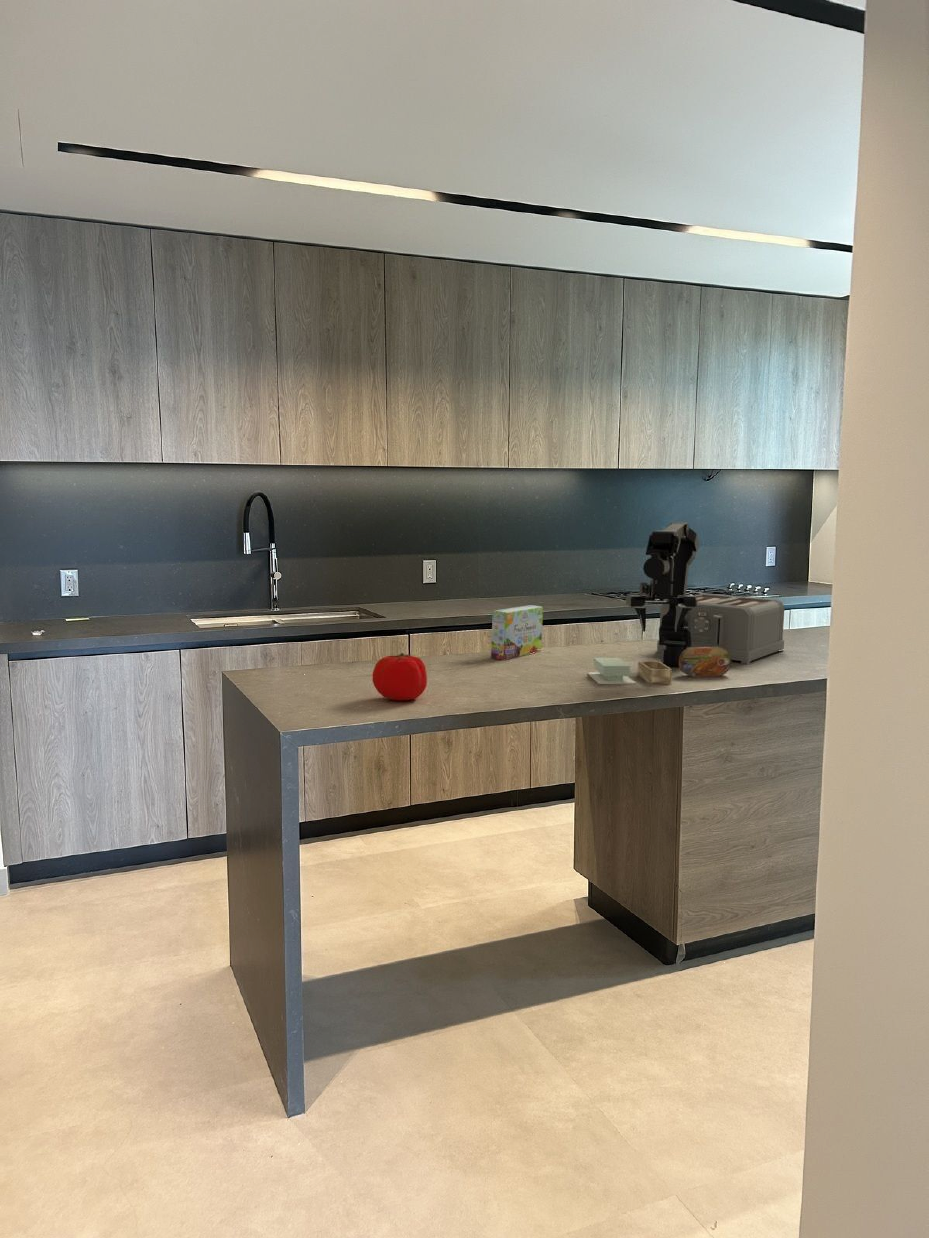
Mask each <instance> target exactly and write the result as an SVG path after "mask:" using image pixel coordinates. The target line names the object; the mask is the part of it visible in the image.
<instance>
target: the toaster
mask: <svg viewBox="0 0 929 1238" xmlns="http://www.w3.org/2000/svg"><path fill="white" fill-rule="evenodd" d="M693 596H694V597H696V599H697V607H690V608H692V610H689V611H688V612H687V614H686V616H685V617H686V619H687V621H688V627H689V630H690V632H691V640H692V643H691V647H687V648H686V649H688V648H694V647H721V648H724V649H726V650H727V651H728V652H729V654H730V656H731V661H738V662H739V661H740V662H741V664H743V663H750V662H751V663H752V661H754V660H757V659H760V658H762V657H766V656H768V655H770V654H773V653H777V652H780V651H779V650H782V649H784V650H785V639H783V637H784V623H785V622H784V621H785V605H784V603H783V602H782V600H779V599H772V598H765V597H764V598H763V597H762V598H761V597H750V596H740V595H739V596H738V595H728V594H717V593H715V594H713V593H701V594H697V595H696V594H695V595H693ZM659 611H660V612H659V613H660V614H659V626H660V625H661V624H662V617H663V616H664V615H666V613H667V612H668V611H669V604H661V606H660V609H659ZM673 642H676V641H673ZM684 642H685V641H684ZM662 649H663V645H659V640H657V643H656V653H660V654H661V650H662ZM751 663H750V664H751Z"/></svg>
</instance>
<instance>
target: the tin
mask: <svg viewBox="0 0 929 1238" xmlns="http://www.w3.org/2000/svg"><path fill="white" fill-rule="evenodd" d="M731 667H732V660H731V656H730V654H729V652H728V651H727V650H726V649H724V648H721V647H694V648H688V649H686V650H684V651H683V652H682V653H681V655H680V657H679V667H678V668H679V669H680V671H681V672H682V673H683V674H685V675H686V676H689V677H691V678H704V677H711V678H712V677H721V676H724V675H725V674H727V672H729V671H730V669H731Z"/></svg>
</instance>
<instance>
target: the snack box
mask: <svg viewBox="0 0 929 1238" xmlns="http://www.w3.org/2000/svg"><path fill="white" fill-rule="evenodd" d="M543 615H544V607H543V606H539V605H532V604H531V605H522V606H514V607H509V608H502V609H497V610H496V609H495V610H492V619H491V620H492V624H491V625H492V626H491V645H490V647H491V648H490V658H491V659H494V658H495V659H494V660H499V661H505V660H510V658H511V659H514V658H513V657H515V658H519V656H520V657H523V656H522V655H525V656H527V655H526V654H529V655H531V654H530V653H533V652H538V651H541V652H542V639H543V621H544V619H543V617H544V616H543ZM537 649H541V650H537ZM538 653H539V652H538Z"/></svg>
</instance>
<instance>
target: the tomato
mask: <svg viewBox="0 0 929 1238" xmlns="http://www.w3.org/2000/svg"><path fill="white" fill-rule="evenodd" d="M371 680H372V683H373V686H374V688H375V689H376V691H377V693H378V694H380V695H381V696H382V697H383V698H386V699H389V700H392V701H401V702H402V701H410V700H411V701H412V700H416V699H418V698H419V697H421V695H422V694H423V693H424V692H425V690H426V688H427V683H428V676H427V670H426V665H425V663H424V662H423V660H422V659H421V658H419V657H417V655H410V654H407V653H403V652H400V653H399V654H397V655H387V656H385V657H382V658H381V659H379V660H377V662H376V664H375V665H374V668H373V671H372V679H371Z"/></svg>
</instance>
